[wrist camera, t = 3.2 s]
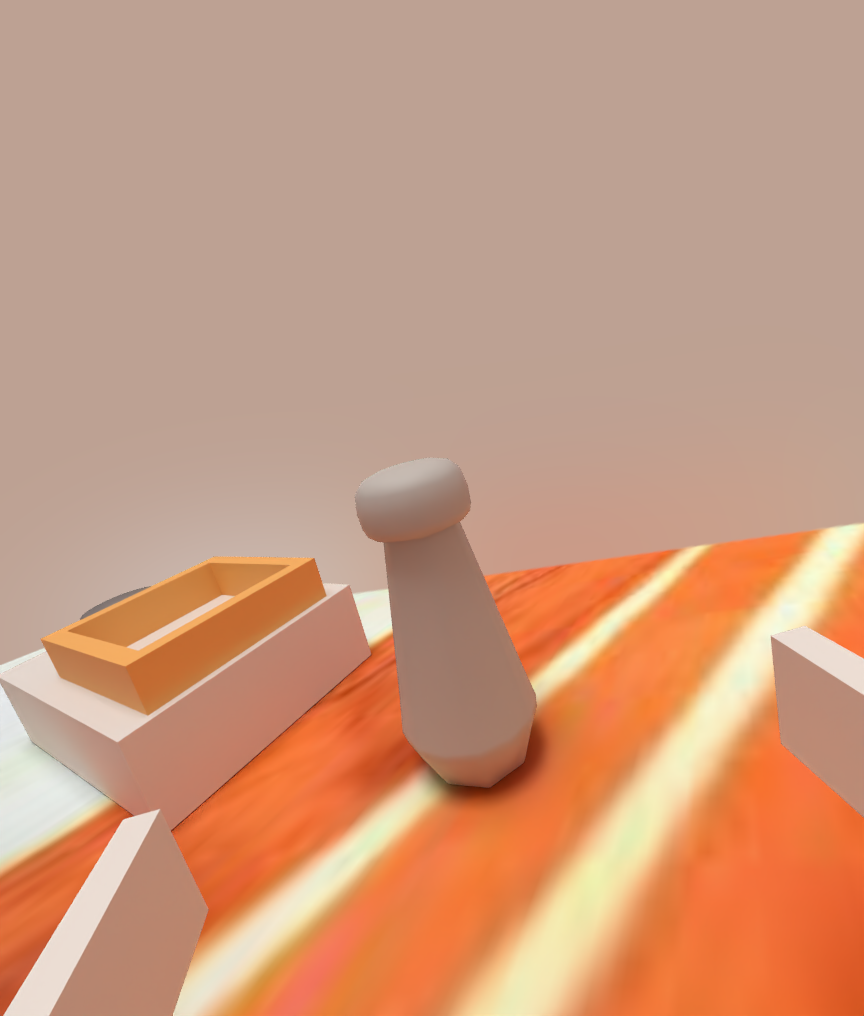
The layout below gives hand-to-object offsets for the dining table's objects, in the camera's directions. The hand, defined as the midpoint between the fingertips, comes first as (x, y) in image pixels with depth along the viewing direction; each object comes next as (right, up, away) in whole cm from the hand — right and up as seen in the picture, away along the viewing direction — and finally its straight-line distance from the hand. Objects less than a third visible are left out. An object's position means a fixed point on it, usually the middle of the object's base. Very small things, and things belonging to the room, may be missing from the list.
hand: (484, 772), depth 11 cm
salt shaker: (+1, -5, +12) cm, 13 cm away
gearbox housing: (-17, -7, +23) cm, 29 cm away
